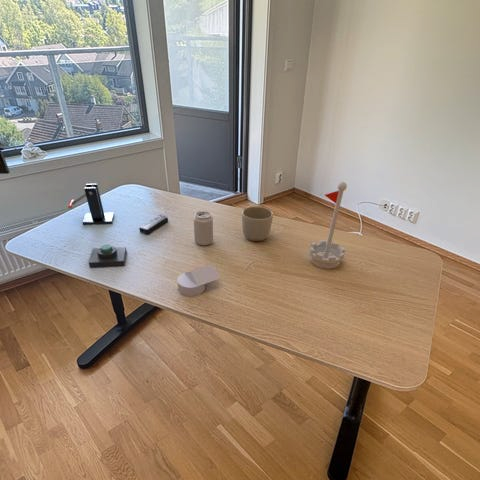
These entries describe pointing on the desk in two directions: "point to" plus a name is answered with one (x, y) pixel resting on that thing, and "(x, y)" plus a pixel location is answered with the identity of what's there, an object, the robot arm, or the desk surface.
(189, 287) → the wedge on round base
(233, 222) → the desk surface
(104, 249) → the button
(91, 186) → the lever
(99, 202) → the bracket
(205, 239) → the can
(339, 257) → the flag stand
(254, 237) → the planter
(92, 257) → the button box
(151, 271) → the desk surface
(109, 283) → the desk surface
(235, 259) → the desk surface
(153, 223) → the multiport hub
